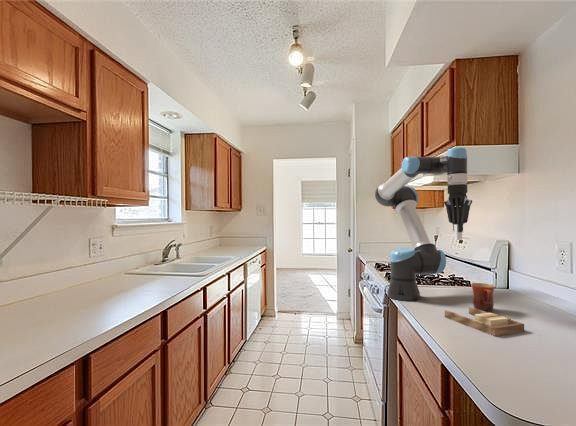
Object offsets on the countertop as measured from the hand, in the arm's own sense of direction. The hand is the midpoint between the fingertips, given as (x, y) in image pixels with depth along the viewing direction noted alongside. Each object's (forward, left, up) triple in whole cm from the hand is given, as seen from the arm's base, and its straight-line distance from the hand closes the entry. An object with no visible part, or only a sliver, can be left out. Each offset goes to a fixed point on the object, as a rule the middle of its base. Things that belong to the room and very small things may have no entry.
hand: (458, 239), depth 135 cm
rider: (+21, -8, -30) cm, 37 cm away
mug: (+6, +7, -30) cm, 31 cm away
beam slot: (+17, -8, -29) cm, 35 cm away
